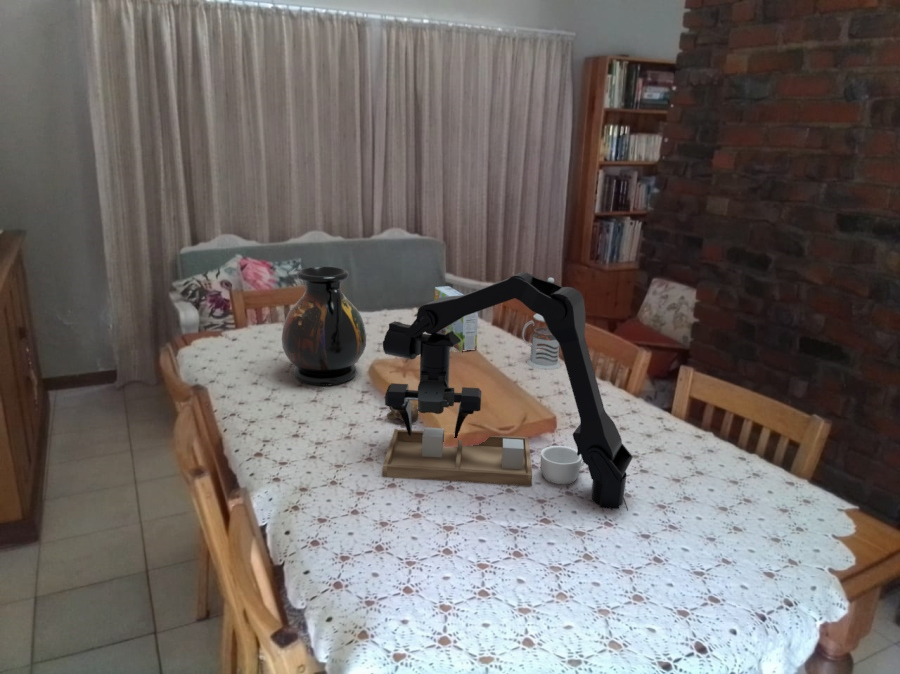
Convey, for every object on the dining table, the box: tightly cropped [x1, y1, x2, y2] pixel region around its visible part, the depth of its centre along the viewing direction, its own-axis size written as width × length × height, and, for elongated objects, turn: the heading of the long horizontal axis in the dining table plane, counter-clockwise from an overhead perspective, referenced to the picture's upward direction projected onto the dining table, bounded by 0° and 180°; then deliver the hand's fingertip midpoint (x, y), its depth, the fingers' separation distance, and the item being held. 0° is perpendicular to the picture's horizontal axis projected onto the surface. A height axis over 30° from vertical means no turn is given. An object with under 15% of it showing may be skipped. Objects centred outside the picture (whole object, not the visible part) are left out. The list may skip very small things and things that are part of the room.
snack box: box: [434, 285, 479, 352], centre depth 209 cm, size 21×6×15 cm, turn 25°
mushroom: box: [386, 400, 419, 424], centre depth 154 cm, size 8×8×6 cm
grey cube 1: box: [422, 426, 445, 458], centre depth 138 cm, size 4×4×4 cm
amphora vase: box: [281, 266, 367, 386], centre depth 175 cm, size 22×22×28 cm
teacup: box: [540, 445, 586, 485], centre depth 131 cm, size 10×8×5 cm
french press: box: [521, 277, 562, 370], centre depth 190 cm, size 10×12×25 cm
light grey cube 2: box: [502, 438, 524, 470], centre depth 134 cm, size 4×4×4 cm
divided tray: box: [382, 428, 533, 487], centre depth 135 cm, size 16×28×3 cm, turn 86°
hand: (432, 436), depth 137 cm, fingers open, 9 cm apart
